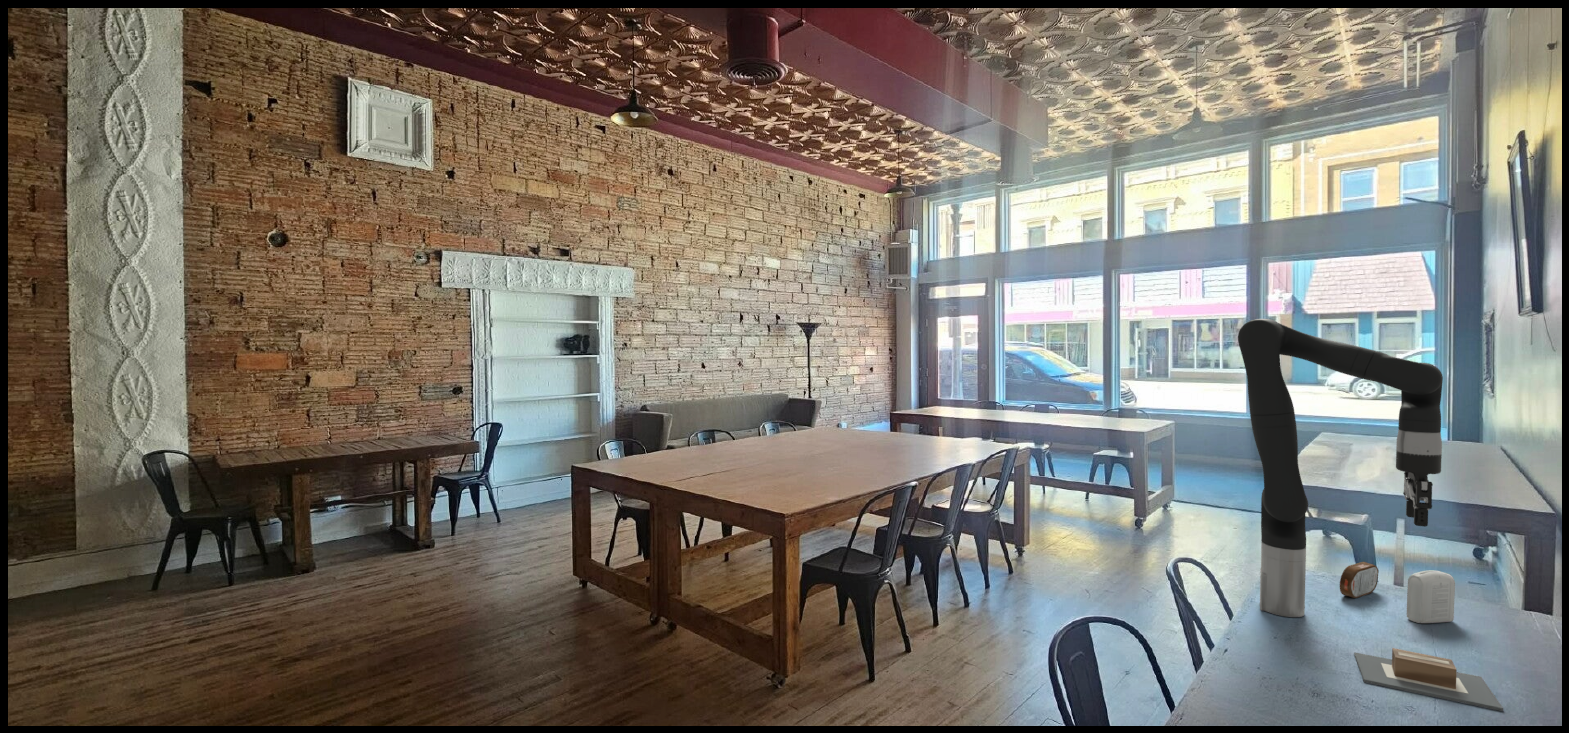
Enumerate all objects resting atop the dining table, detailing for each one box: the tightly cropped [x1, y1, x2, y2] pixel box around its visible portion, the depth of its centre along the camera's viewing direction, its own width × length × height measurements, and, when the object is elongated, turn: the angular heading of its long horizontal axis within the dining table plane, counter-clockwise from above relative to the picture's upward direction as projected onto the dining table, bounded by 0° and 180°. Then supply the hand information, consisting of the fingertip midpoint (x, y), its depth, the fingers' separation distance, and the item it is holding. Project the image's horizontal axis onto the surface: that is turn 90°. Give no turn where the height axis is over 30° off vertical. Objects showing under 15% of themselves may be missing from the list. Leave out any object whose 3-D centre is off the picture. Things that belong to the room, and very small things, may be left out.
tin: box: [1339, 561, 1379, 599], centre depth 183 cm, size 15×3×8 cm, turn 116°
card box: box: [1391, 647, 1457, 689], centre depth 138 cm, size 5×9×4 cm, turn 53°
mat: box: [1353, 651, 1504, 712], centre depth 138 cm, size 20×14×1 cm
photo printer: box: [1406, 569, 1456, 624], centre depth 167 cm, size 10×4×12 cm, turn 98°
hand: (1416, 521), depth 154 cm, fingers open, 8 cm apart
